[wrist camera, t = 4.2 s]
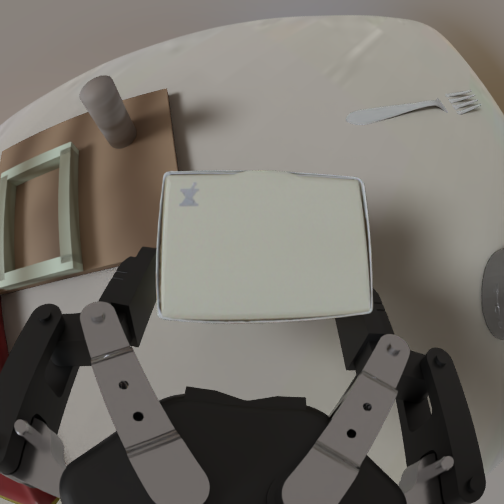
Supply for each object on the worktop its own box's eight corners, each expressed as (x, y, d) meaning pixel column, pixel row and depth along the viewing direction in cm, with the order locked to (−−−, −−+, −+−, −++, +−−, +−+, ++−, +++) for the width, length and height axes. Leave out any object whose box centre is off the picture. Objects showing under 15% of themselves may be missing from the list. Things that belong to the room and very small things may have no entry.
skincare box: (197, 315, 19) (142, 323, 7) (197, 250, 20) (151, 168, 8) (293, 313, 20) (380, 317, 8) (291, 250, 20) (366, 172, 8)
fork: (312, 114, 23) (317, 102, 21) (463, 94, 26) (469, 87, 25) (329, 143, 23) (336, 132, 21) (476, 114, 26) (483, 107, 24)
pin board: (168, 95, 22) (153, 37, 15) (192, 249, 20) (172, 218, 13) (7, 155, 20) (-32, 123, 14) (2, 294, 18) (-54, 286, 11)
